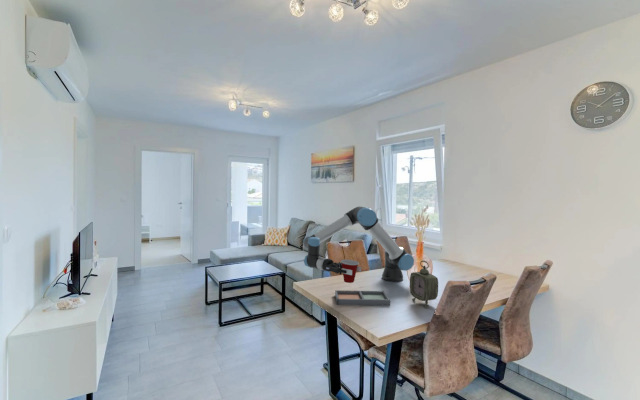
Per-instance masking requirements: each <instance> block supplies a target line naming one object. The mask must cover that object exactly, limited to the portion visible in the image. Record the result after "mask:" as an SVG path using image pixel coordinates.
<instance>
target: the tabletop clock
mask: <svg viewBox="0 0 640 400" xmlns="http://www.w3.org/2000/svg"><path fill="white" fill-rule="evenodd" d="M419 263H420V267H421V268H420V270H419V271H417V272H416V271H415V272H413V271H412V272H411V273H410V276H409V293H410V295H411V296H412V297H414V298H412V301H413V302H416V299H417V300H419V301H421V302H424V303H425V305H424V307H425V309H427V308H429V307H428V303H429V302H428V301H434V300H437V298H438V296H439V279H438V277H437V276H435V275H434V274H432V273H430V272H429V269H428V268H429V267H430V266H429V265H430V264H429V263H428V262H427V261H426V260H421V261H420V262H419ZM422 263H425V264H426V265H427V267H426V265H422Z"/></svg>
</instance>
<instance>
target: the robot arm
mask: <svg viewBox="0 0 640 400" xmlns="http://www.w3.org/2000/svg"><path fill="white" fill-rule="evenodd" d="M379 222H380V221H379V218H378V217H377V213H376V212H375V210H373V208H370V207H367V206H365V207H364V206H356V207H354V208H352V209H351V210H349V211H347V212H345V214H343V216H341V217H340V218H338V219H337V220H335V221H334V222H332V223H330V224H328V225H327V226H325V227H324V228H322V229H320V230H318V231H317V232H315V233H313V234H311V235H310V236H305V237H304V239H303V241H302V243H303V246H304V247H305V248H306V249H307V255H306V256H305V257H304V259H303V263H304V266H306V267H308V268H311V269H316V270H320V271H325V272H332V273H335V274H339V275H343V273H344V274H348V275H352V270H349V269H344V268H342V263H341V261H340V262H334V261H333V259H331V258H326V257H321V256H320V250H321V249H320V248H321V243H323V242H325V241H326V240H328V239H330V238H331V237H332V236H335V235H336V234H337V233H339V232H341V231H343V230H344V229H346V228H348V227H349V226H350V227H353V226H354V225H356V224H359V225H360V226H361V227H362V229H364V230H365V232H366V231H368V232H369V233H370V234H371V236H373V238H374V239H375V240H376V241H377V243H379V245H381V247H382V248H383V249H384V250H385V251H384V269H383V272H382V275H381V278H382V279H383V280H385V281H388V282H402V281H403V280H404V274H403V271H404V272H406V271H407V272H408V271H410V270H411V269H412V268H413V266H414V262H415V259H414V257H413V256H412V255H411V254H410V253H408V251H406V250H405V249H404V247H402V246H399V245H398V244H397V243H396V242H395V240H394V239H393V238H392V237H391V235H389V233H388V232H387V231H386V230H385V229H384V227H383V226H382V225H381V224H380V223H379ZM356 272H358V273H361V272H362V267H361V266H359V265H358V266H357V270H356Z"/></svg>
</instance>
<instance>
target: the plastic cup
mask: <svg viewBox="0 0 640 400" xmlns="http://www.w3.org/2000/svg"><path fill="white" fill-rule="evenodd" d="M340 263H342V268H344V269H349V270H352V275H348V274H344V273H342V277H343V282H344V283H348V284H352V283H354V282H355V277H356V274H357V271H356V270H357V266H358V267H359V264H360V262H359V261H356V260H354V259H353V260H352V259H341V260H340Z"/></svg>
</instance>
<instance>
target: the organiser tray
mask: <svg viewBox="0 0 640 400" xmlns="http://www.w3.org/2000/svg"><path fill="white" fill-rule="evenodd" d="M334 297H335V301H336V302H335V303H336V305H337V306H340V305H341V306H391V299H390V298H389V296H388V294H387V293H386V292H385V290H345V289H343V290H337V289H336V290H334Z"/></svg>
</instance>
